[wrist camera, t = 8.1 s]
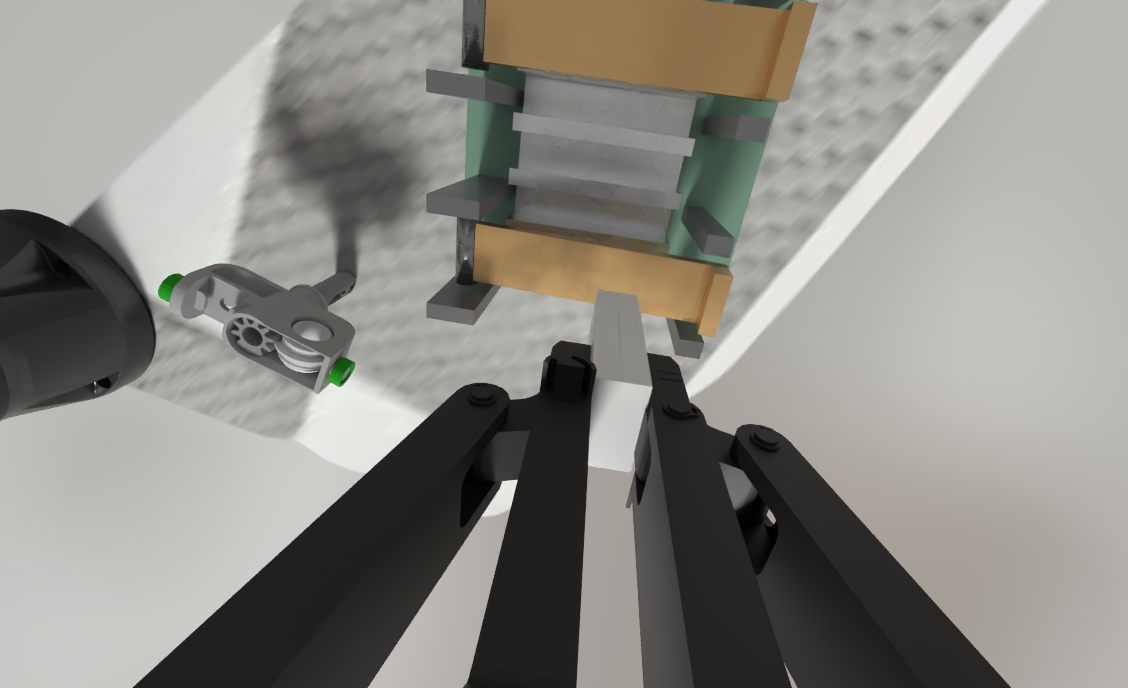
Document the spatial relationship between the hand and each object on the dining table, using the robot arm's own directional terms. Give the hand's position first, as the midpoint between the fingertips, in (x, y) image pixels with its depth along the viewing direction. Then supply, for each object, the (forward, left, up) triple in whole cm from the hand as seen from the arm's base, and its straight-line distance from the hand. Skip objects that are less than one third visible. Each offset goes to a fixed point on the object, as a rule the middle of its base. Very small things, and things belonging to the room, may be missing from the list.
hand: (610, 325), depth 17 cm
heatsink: (-2, +5, -13) cm, 14 cm away
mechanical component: (-19, -6, -15) cm, 24 cm away
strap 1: (-1, +10, -7) cm, 12 cm away
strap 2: (-1, 0, -7) cm, 7 cm away
